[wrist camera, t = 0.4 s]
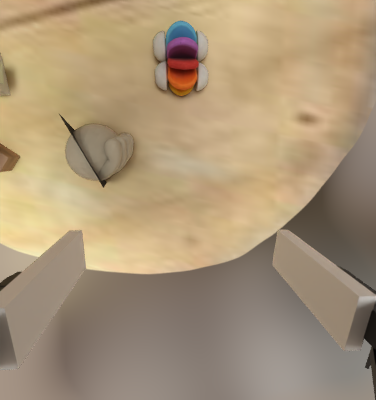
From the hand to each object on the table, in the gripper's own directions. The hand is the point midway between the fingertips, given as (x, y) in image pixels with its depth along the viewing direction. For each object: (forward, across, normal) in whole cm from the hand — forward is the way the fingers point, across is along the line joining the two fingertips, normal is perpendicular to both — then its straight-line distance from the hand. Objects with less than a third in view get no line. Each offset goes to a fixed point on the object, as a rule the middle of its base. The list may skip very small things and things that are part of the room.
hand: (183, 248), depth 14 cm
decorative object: (+27, -12, +6) cm, 30 cm away
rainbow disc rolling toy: (+28, +1, +19) cm, 34 cm away
